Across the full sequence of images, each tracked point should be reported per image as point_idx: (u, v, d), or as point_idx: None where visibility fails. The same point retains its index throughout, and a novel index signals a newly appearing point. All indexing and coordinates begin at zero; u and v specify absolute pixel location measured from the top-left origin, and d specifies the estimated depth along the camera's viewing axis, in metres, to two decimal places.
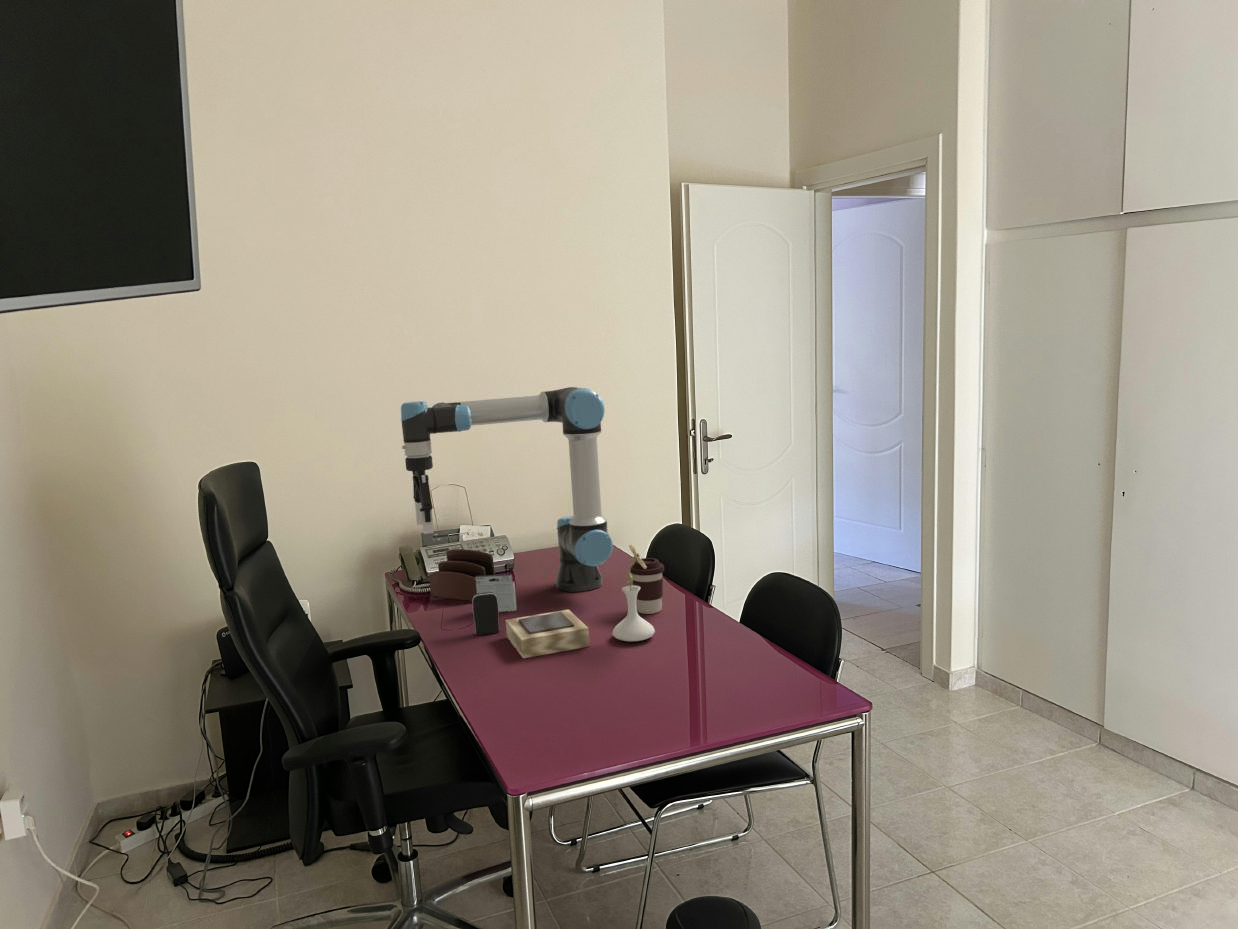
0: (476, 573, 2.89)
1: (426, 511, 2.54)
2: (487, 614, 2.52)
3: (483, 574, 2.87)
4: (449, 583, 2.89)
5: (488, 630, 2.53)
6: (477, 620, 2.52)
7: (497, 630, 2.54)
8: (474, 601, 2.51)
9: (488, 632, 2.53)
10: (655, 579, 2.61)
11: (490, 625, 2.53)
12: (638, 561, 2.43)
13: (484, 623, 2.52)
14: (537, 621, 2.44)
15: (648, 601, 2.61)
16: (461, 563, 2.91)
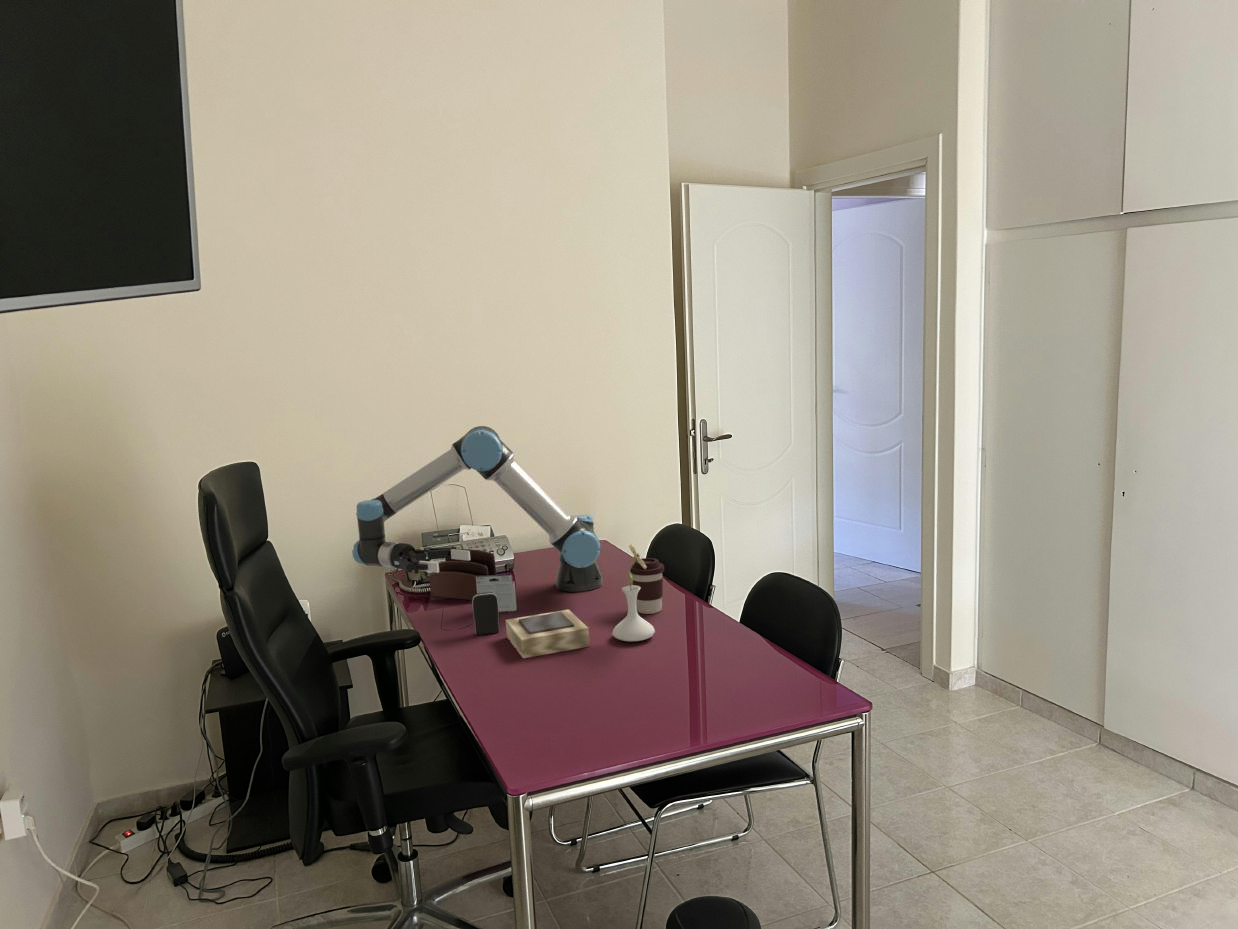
0: (478, 572, 2.90)
1: (416, 568, 2.53)
2: (487, 614, 2.52)
3: (486, 573, 2.88)
4: (451, 583, 2.89)
5: (488, 630, 2.53)
6: (477, 620, 2.52)
7: (497, 630, 2.54)
8: (474, 601, 2.51)
9: (488, 632, 2.53)
10: (655, 579, 2.61)
11: (490, 625, 2.53)
12: (638, 561, 2.43)
13: (484, 623, 2.52)
14: (537, 621, 2.44)
15: (648, 601, 2.61)
16: (462, 563, 2.92)
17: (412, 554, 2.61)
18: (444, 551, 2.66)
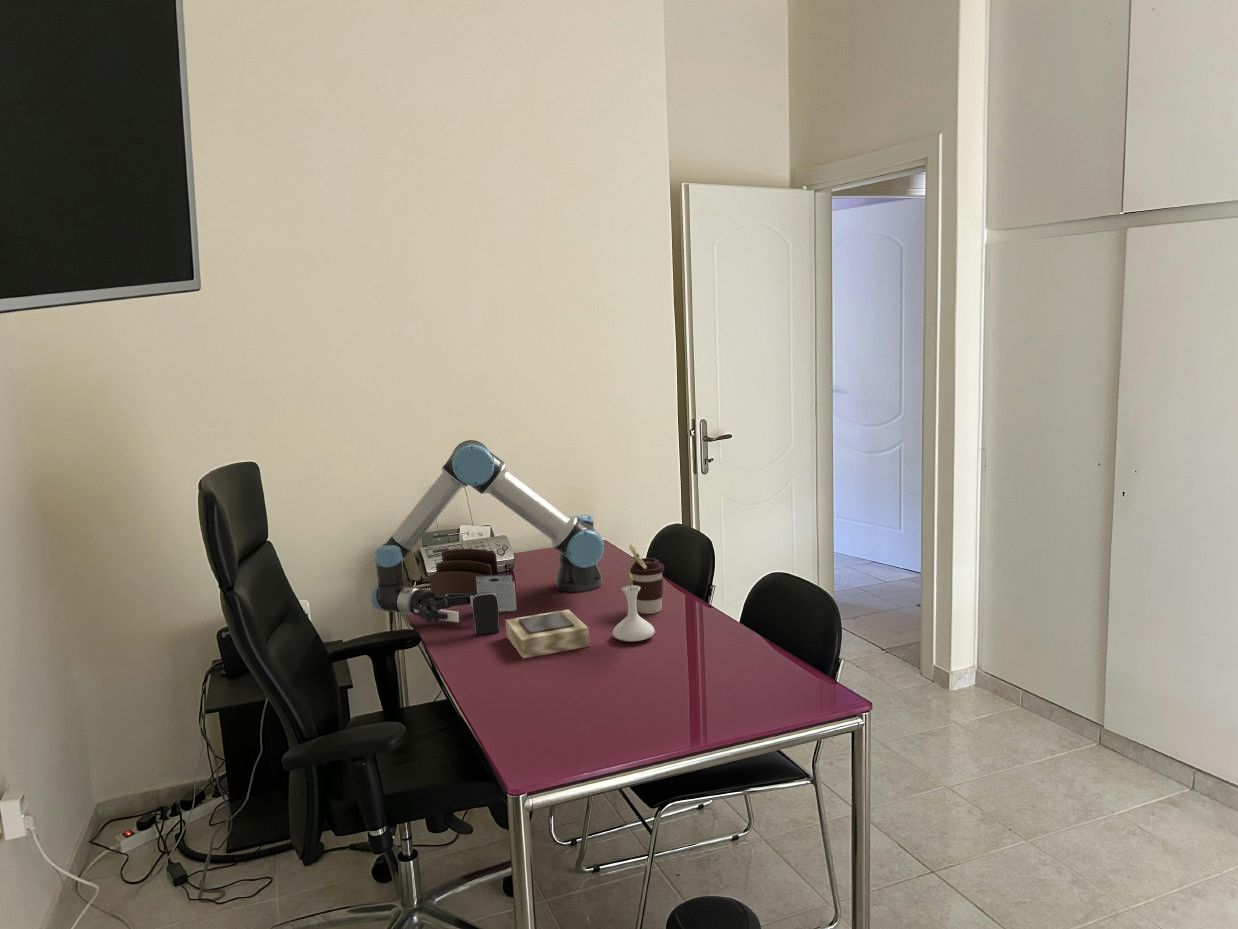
0: (481, 571, 2.91)
1: (436, 617, 2.51)
2: (487, 614, 2.52)
3: (489, 571, 2.90)
4: (453, 583, 2.90)
5: (488, 630, 2.53)
6: (477, 620, 2.52)
7: (497, 630, 2.54)
8: (474, 601, 2.51)
9: (488, 632, 2.53)
10: (655, 579, 2.61)
11: (490, 625, 2.53)
12: (638, 561, 2.43)
13: (484, 623, 2.52)
14: (537, 621, 2.44)
15: (648, 601, 2.61)
16: (463, 562, 2.92)
17: (432, 602, 2.59)
18: (463, 597, 2.64)
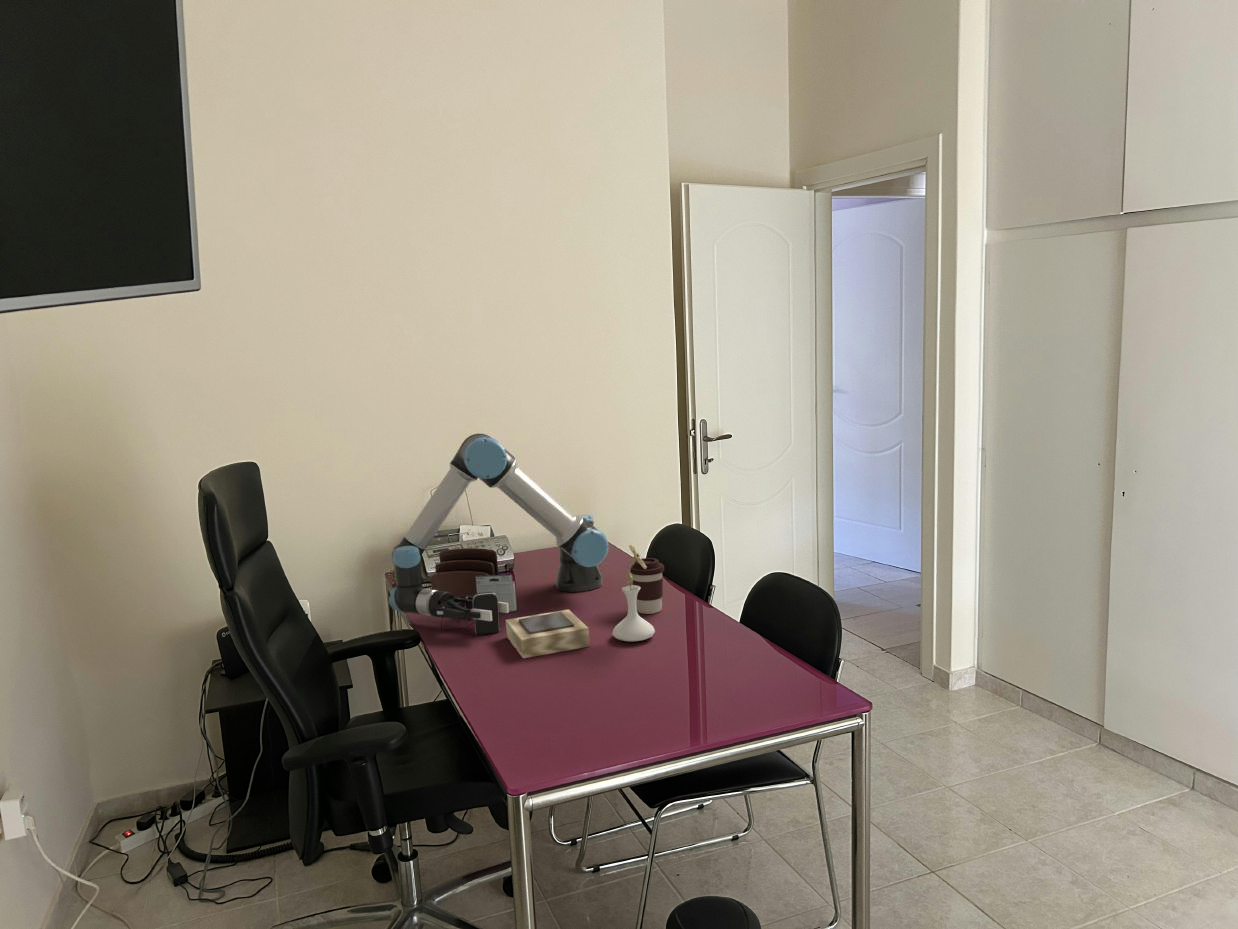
0: (483, 570, 2.92)
1: (468, 616, 2.50)
2: None
3: (491, 570, 2.92)
4: (456, 582, 2.90)
5: (488, 630, 2.53)
6: (477, 619, 2.52)
7: (497, 630, 2.54)
8: (474, 601, 2.51)
9: (488, 632, 2.53)
10: (655, 579, 2.61)
11: (490, 625, 2.53)
12: (638, 561, 2.43)
13: (484, 623, 2.52)
14: (537, 621, 2.44)
15: (648, 601, 2.61)
16: (464, 562, 2.93)
17: (454, 602, 2.57)
18: None
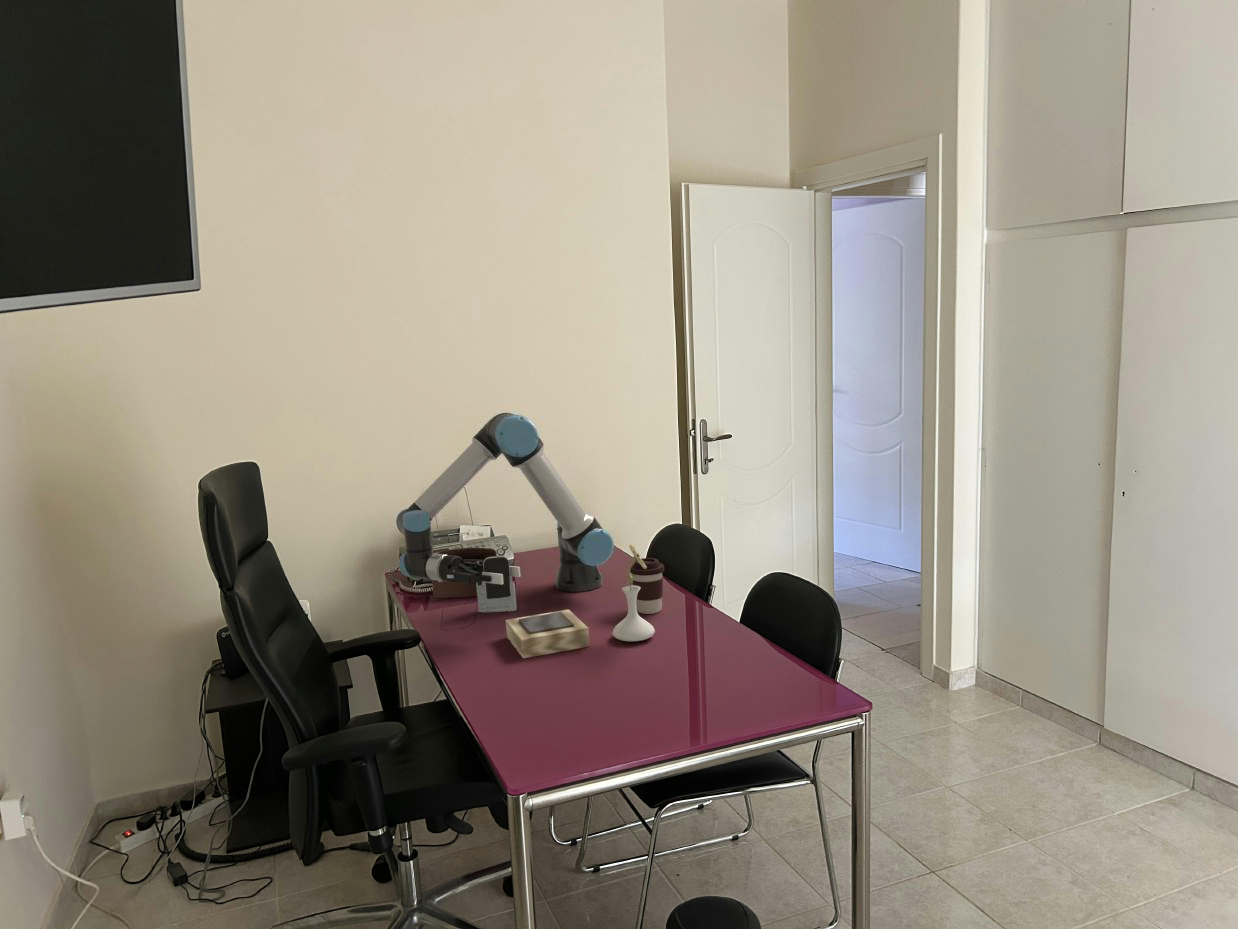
0: None
1: (479, 579, 2.44)
2: None
3: None
4: (458, 582, 2.90)
5: (499, 594, 2.47)
6: (488, 583, 2.46)
7: (508, 594, 2.48)
8: (485, 564, 2.45)
9: (499, 596, 2.47)
10: (655, 579, 2.61)
11: (501, 589, 2.47)
12: (638, 561, 2.43)
13: (495, 587, 2.47)
14: (537, 621, 2.44)
15: (648, 601, 2.61)
16: (465, 561, 2.94)
17: (465, 566, 2.51)
18: None
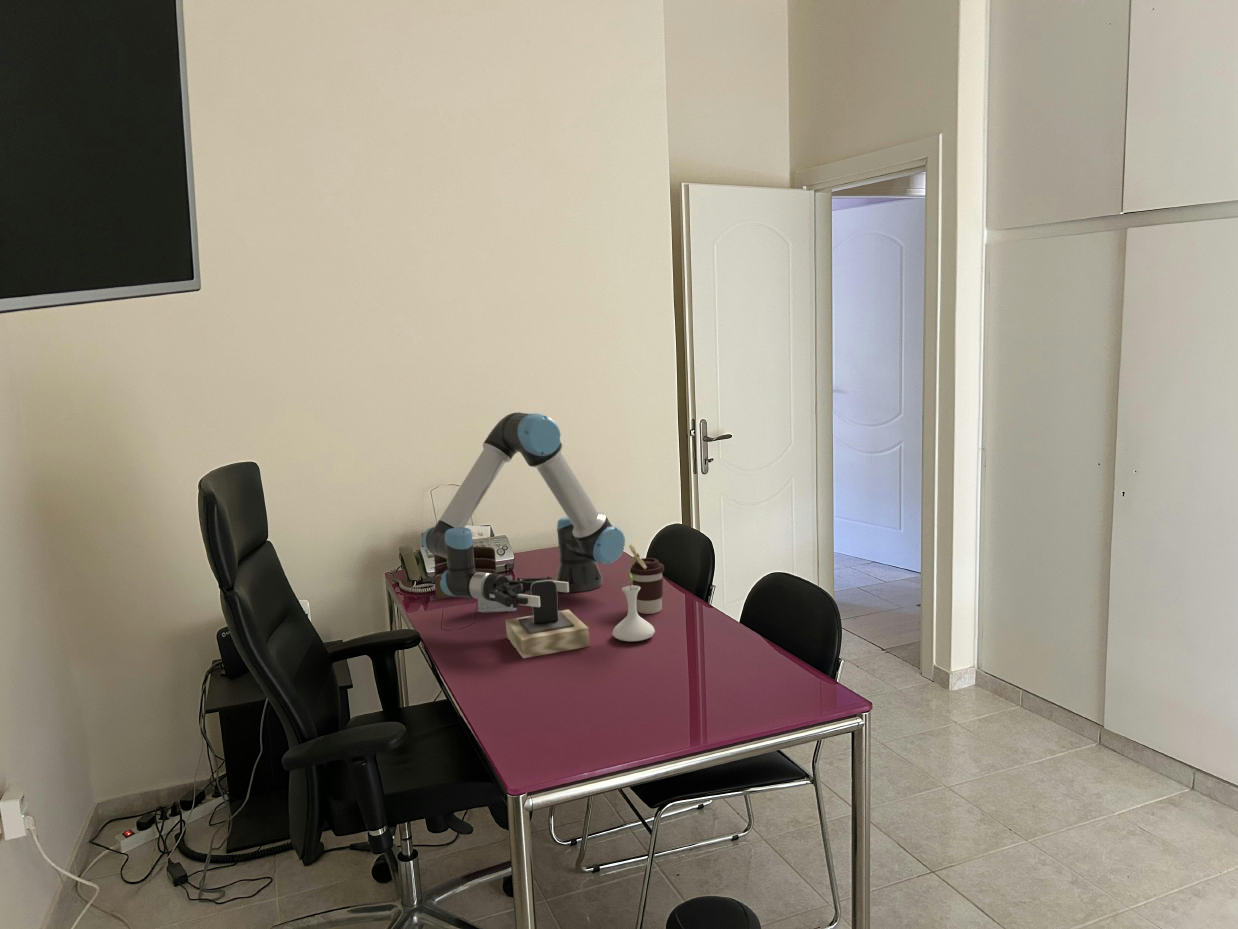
0: (485, 567, 2.96)
1: (515, 602, 2.37)
2: (546, 602, 2.41)
3: (494, 566, 2.96)
4: None
5: (547, 619, 2.41)
6: (535, 608, 2.40)
7: (556, 619, 2.42)
8: (532, 588, 2.40)
9: (547, 621, 2.42)
10: (655, 579, 2.61)
11: (549, 614, 2.41)
12: (638, 561, 2.43)
13: (543, 611, 2.41)
14: None
15: (648, 601, 2.61)
16: None
17: (508, 586, 2.44)
18: None
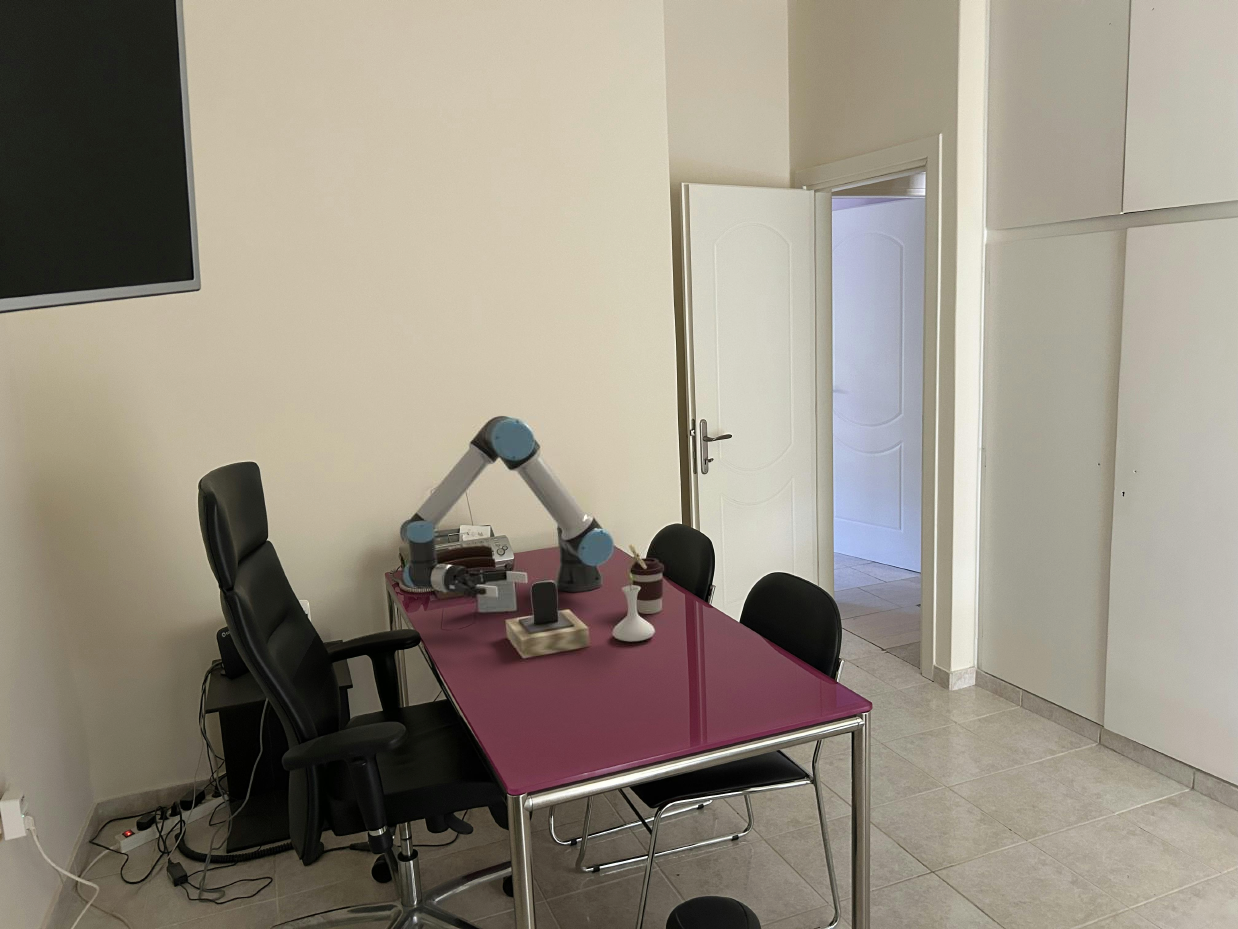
0: (485, 565, 2.98)
1: (473, 592, 2.44)
2: (546, 602, 2.41)
3: (493, 564, 2.98)
4: None
5: (547, 619, 2.41)
6: (535, 608, 2.40)
7: (556, 619, 2.42)
8: (533, 589, 2.40)
9: (547, 621, 2.42)
10: (655, 579, 2.61)
11: (549, 614, 2.41)
12: (638, 561, 2.43)
13: (543, 612, 2.41)
14: None
15: (648, 601, 2.61)
16: (466, 560, 2.95)
17: (467, 577, 2.51)
18: (499, 573, 2.57)
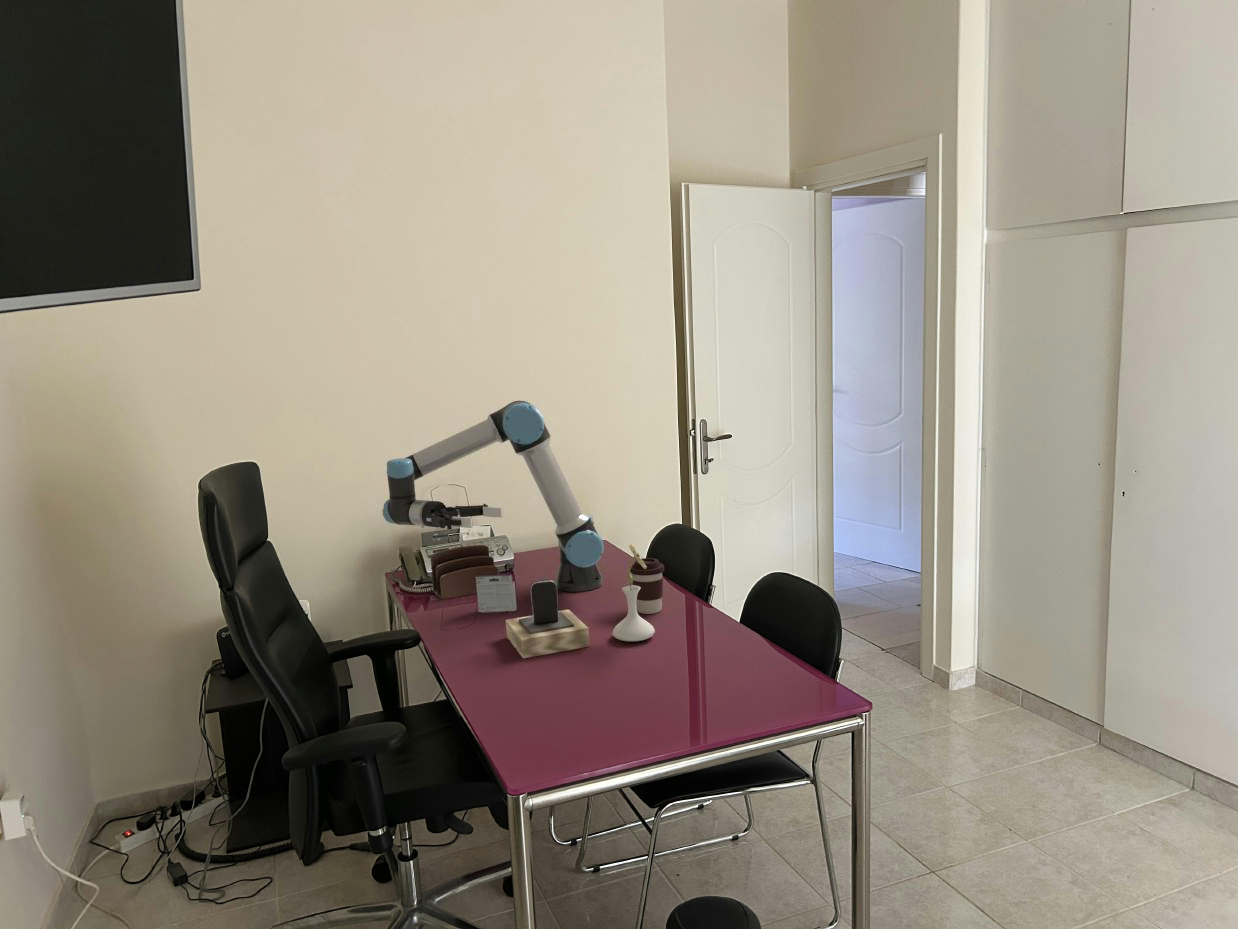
0: (484, 564, 2.99)
1: (449, 523, 2.50)
2: (546, 602, 2.41)
3: (492, 563, 3.00)
4: (466, 580, 2.92)
5: (547, 619, 2.41)
6: (535, 608, 2.40)
7: (556, 619, 2.42)
8: (533, 589, 2.40)
9: (547, 621, 2.42)
10: (655, 579, 2.61)
11: (549, 614, 2.41)
12: (638, 561, 2.43)
13: (543, 612, 2.41)
14: None
15: (648, 601, 2.61)
16: (466, 559, 2.96)
17: (444, 511, 2.57)
18: (476, 509, 2.63)
